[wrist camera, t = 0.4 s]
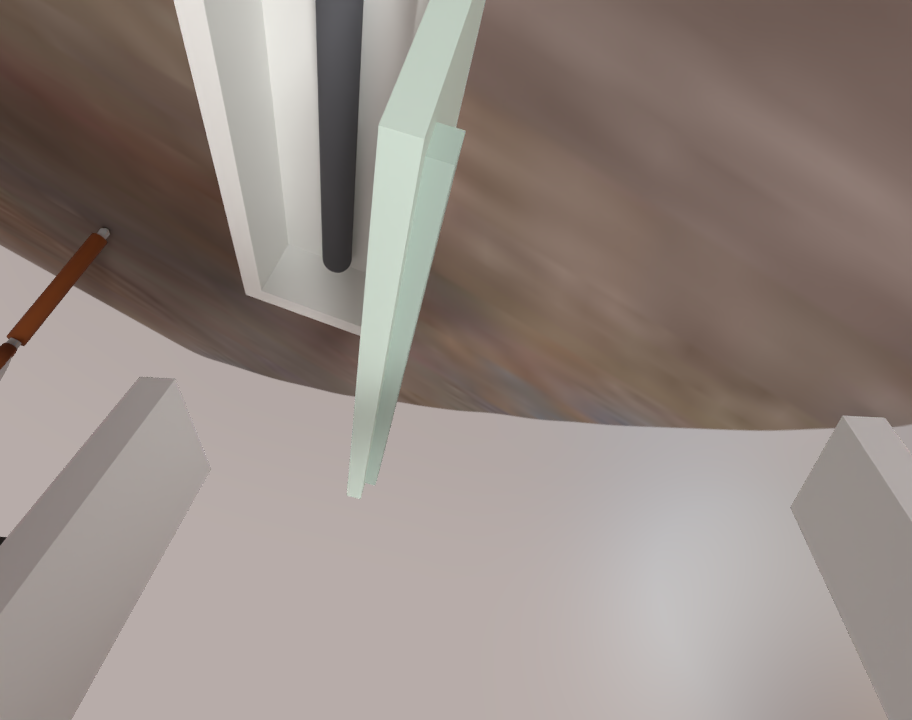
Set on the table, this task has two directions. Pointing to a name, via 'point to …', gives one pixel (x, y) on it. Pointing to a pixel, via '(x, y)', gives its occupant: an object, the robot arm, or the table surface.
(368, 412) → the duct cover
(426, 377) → the table surface
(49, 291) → the magnifying glass
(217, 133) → the cable duct
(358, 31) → the dark grey rounded rod
